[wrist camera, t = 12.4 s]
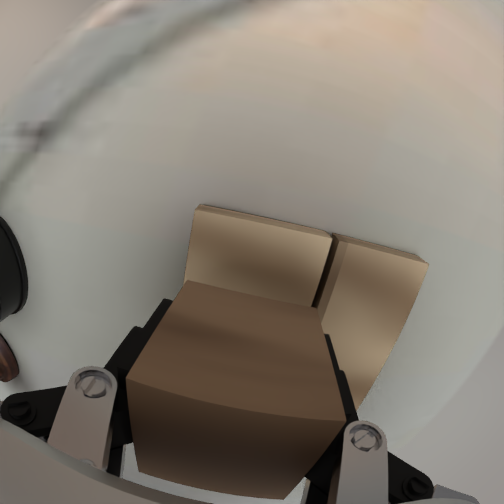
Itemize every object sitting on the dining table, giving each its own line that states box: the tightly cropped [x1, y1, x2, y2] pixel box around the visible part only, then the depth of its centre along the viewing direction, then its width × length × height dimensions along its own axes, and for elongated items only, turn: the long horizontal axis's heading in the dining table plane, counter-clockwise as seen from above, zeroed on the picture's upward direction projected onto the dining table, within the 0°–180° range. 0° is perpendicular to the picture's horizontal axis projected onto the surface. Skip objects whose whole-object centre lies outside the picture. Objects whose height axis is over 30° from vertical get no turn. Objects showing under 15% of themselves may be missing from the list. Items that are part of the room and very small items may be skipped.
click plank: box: [183, 204, 332, 307], centre depth 17 cm, size 20×7×2 cm, turn 168°
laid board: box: [311, 233, 429, 411], centre depth 18 cm, size 20×6×2 cm, turn 168°
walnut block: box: [126, 280, 347, 500], centre depth 8 cm, size 4×4×5 cm
